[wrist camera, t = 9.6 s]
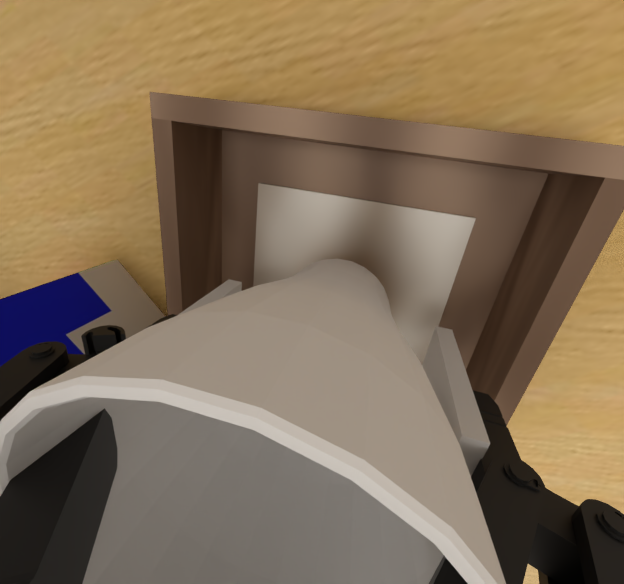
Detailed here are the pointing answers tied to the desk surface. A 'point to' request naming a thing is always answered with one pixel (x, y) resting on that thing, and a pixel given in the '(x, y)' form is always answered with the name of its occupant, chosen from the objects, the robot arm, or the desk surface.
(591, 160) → the walled box
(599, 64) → the desk surface
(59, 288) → the puzzle toy
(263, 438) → the cup
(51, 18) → the desk surface
